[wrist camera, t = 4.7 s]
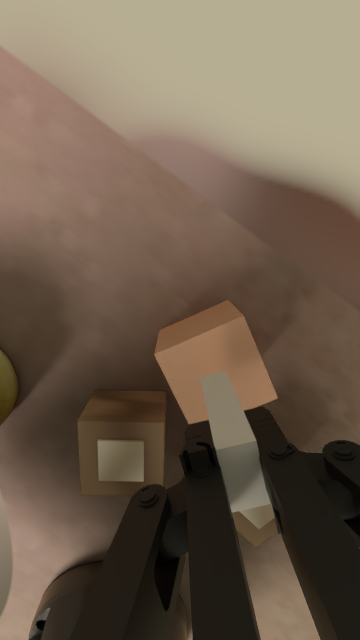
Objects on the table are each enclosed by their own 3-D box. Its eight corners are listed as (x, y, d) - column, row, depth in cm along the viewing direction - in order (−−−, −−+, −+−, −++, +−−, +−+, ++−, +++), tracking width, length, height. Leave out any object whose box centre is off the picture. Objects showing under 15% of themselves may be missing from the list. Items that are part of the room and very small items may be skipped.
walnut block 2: (242, 497, 29) (256, 550, 23) (199, 456, 28) (203, 503, 22) (292, 458, 28) (318, 504, 23) (249, 414, 27) (266, 453, 22)
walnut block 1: (97, 451, 27) (79, 496, 22) (95, 389, 26) (76, 422, 21) (165, 452, 27) (162, 498, 22) (166, 390, 26) (164, 424, 21)
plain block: (189, 391, 26) (193, 432, 20) (159, 329, 25) (154, 354, 19) (255, 364, 26) (278, 398, 20) (227, 299, 24) (243, 315, 18)
